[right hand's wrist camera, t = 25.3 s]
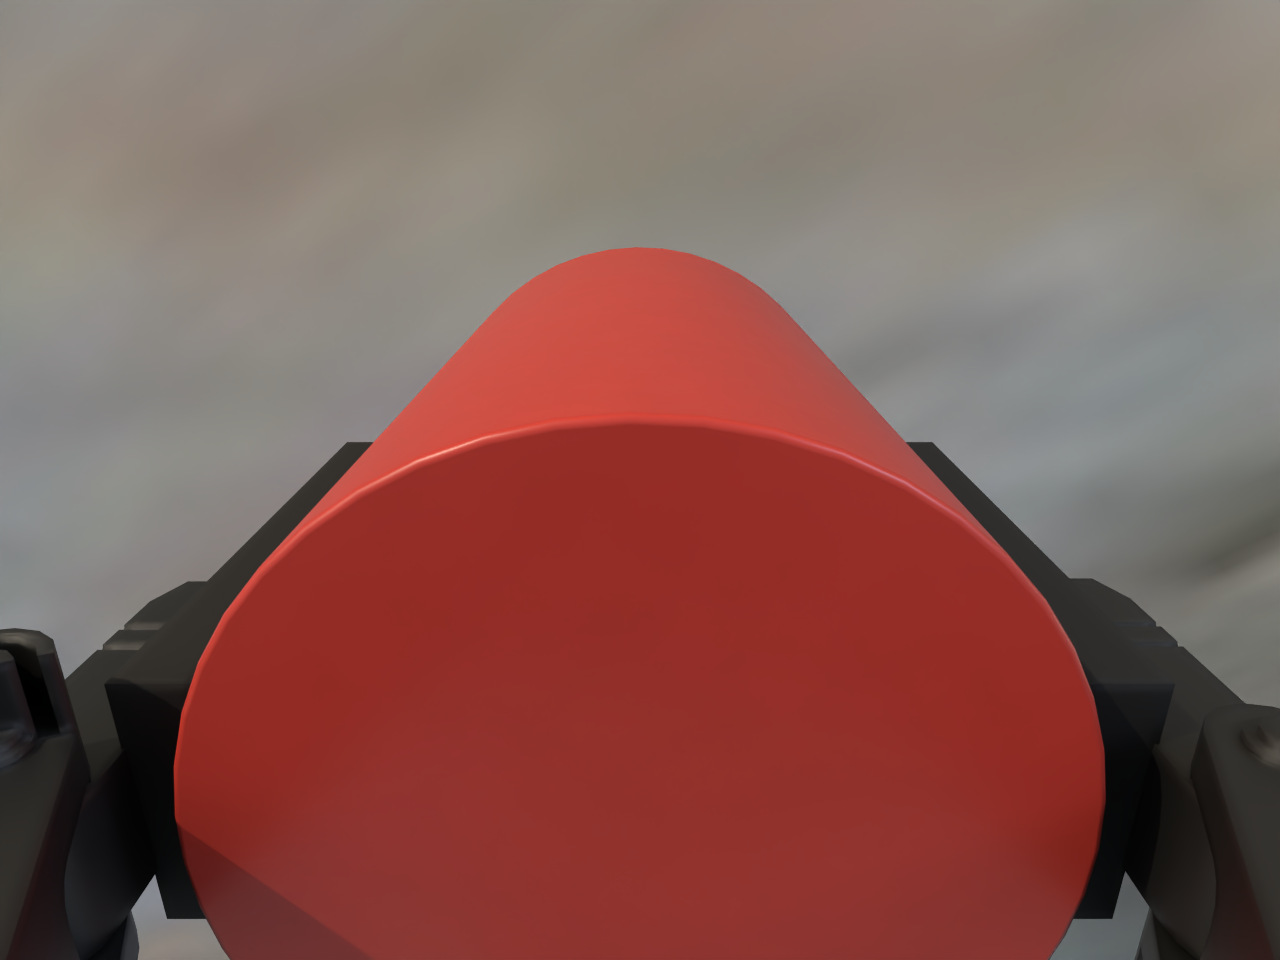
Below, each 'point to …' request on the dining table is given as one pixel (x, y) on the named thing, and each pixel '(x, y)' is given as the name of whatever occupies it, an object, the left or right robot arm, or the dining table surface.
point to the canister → (639, 669)
